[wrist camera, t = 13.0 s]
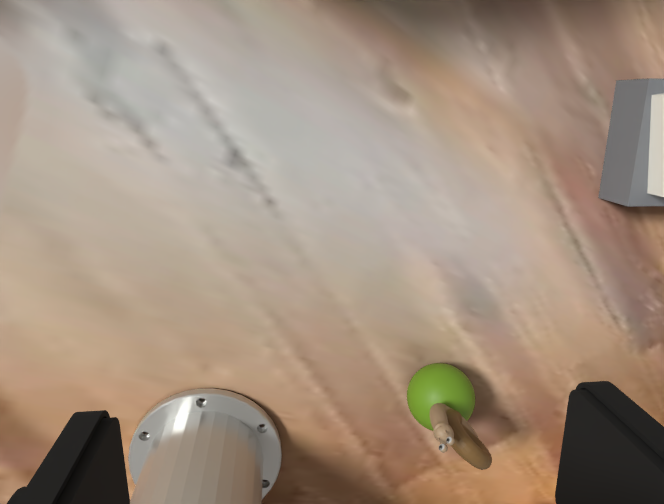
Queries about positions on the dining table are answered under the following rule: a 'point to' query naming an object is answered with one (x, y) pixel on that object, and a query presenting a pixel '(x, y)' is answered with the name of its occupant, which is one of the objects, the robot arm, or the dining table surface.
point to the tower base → (630, 144)
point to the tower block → (656, 147)
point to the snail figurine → (447, 410)
